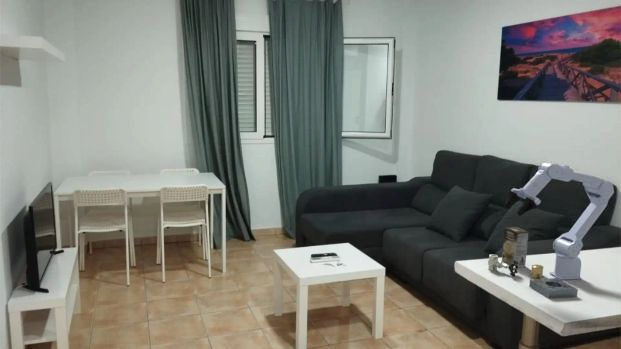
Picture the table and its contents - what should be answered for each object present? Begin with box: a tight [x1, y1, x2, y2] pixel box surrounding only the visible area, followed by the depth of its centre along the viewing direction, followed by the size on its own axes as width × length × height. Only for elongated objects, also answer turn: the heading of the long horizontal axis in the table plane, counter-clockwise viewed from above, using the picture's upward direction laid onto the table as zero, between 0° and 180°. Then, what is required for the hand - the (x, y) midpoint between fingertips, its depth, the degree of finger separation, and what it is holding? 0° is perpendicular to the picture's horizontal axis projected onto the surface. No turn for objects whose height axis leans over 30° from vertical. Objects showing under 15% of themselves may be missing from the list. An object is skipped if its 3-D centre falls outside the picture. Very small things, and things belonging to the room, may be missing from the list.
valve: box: [487, 253, 520, 277], centre depth 217 cm, size 7×7×12 cm
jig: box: [528, 277, 579, 299], centre depth 196 cm, size 12×12×3 cm
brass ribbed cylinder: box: [530, 264, 544, 279], centre depth 208 cm, size 4×4×6 cm
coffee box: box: [501, 226, 530, 268], centre depth 228 cm, size 9×6×16 cm
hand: (511, 211), depth 204 cm, fingers open, 7 cm apart
